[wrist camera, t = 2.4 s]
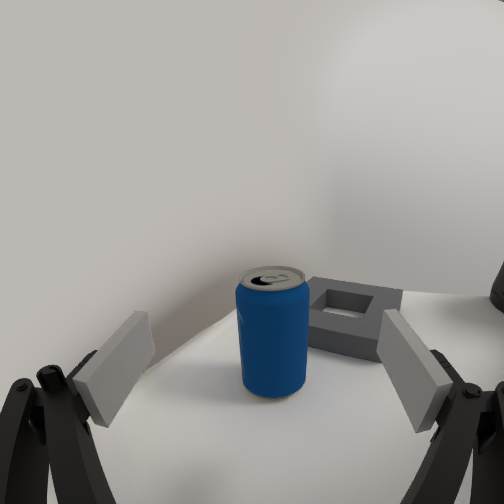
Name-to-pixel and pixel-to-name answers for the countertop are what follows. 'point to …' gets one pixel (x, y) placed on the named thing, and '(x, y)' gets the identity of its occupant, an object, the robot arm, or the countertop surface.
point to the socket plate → (344, 327)
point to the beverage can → (273, 329)
